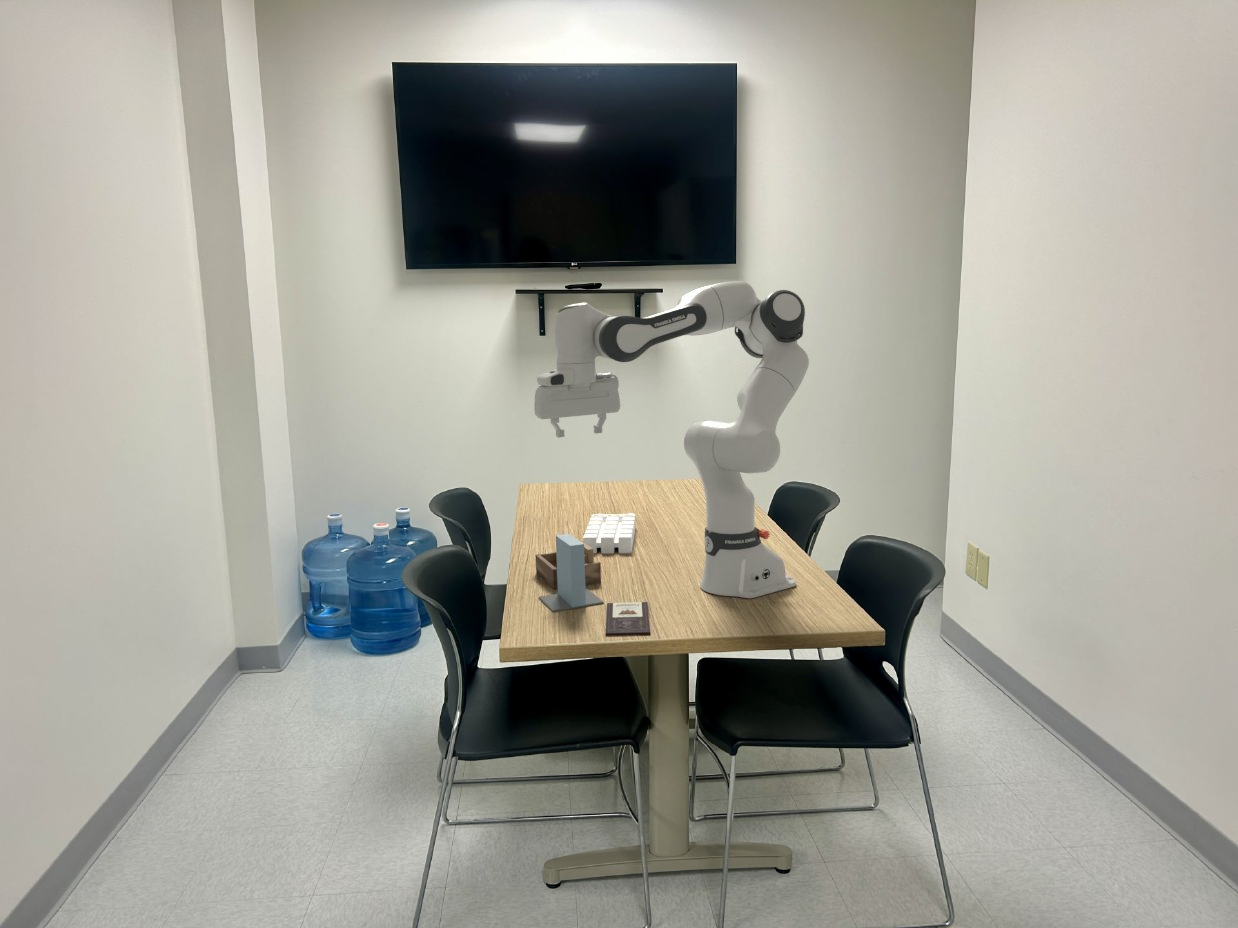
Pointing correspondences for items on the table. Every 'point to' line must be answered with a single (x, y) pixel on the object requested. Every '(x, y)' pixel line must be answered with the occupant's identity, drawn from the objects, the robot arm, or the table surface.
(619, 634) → the chocolate bar
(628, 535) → the organizer
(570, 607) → the mat
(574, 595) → the light blue block
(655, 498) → the table surface
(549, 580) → the rack
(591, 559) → the offcuts
